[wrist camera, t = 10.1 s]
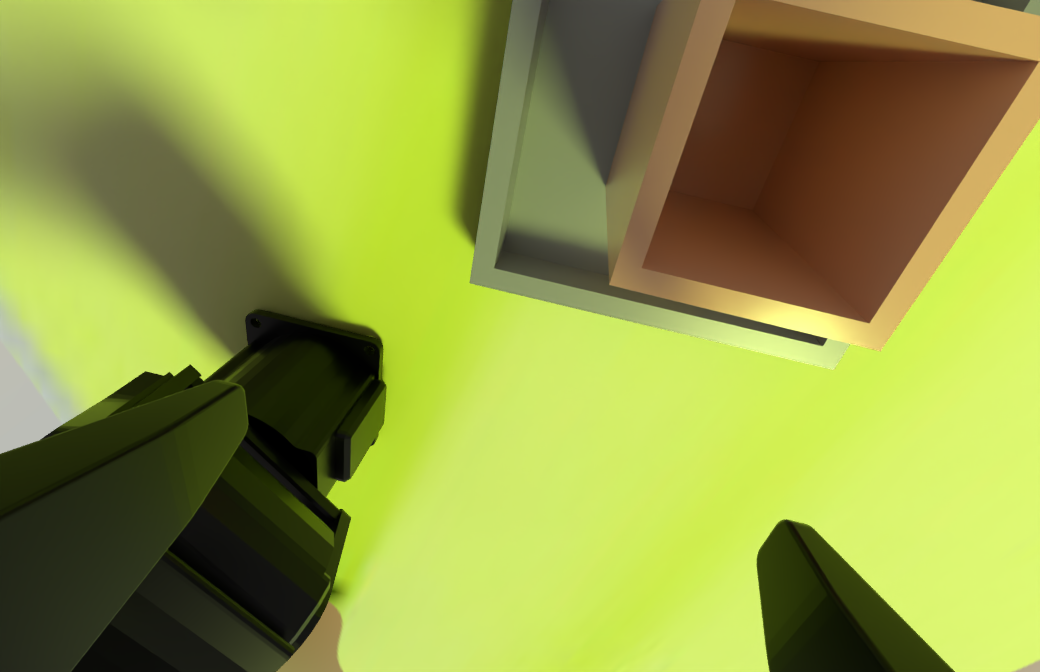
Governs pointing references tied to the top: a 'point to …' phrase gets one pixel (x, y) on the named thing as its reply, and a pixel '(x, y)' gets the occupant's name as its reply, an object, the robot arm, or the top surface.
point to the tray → (588, 173)
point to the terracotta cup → (814, 153)
